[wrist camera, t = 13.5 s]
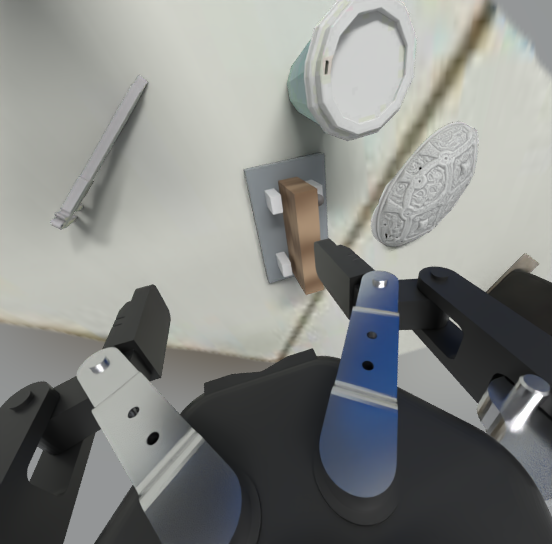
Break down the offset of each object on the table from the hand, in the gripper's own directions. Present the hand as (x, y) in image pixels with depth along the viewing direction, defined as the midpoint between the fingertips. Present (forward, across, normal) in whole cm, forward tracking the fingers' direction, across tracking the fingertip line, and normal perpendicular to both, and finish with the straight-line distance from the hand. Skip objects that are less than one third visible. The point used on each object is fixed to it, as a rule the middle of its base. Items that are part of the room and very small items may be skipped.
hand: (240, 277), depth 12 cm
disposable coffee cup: (+28, -15, -8) cm, 33 cm away
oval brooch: (+29, -36, +10) cm, 47 cm away
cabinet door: (+26, -10, +10) cm, 30 cm away
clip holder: (+28, -10, +10) cm, 31 cm away
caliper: (+29, +13, -5) cm, 32 cm away
